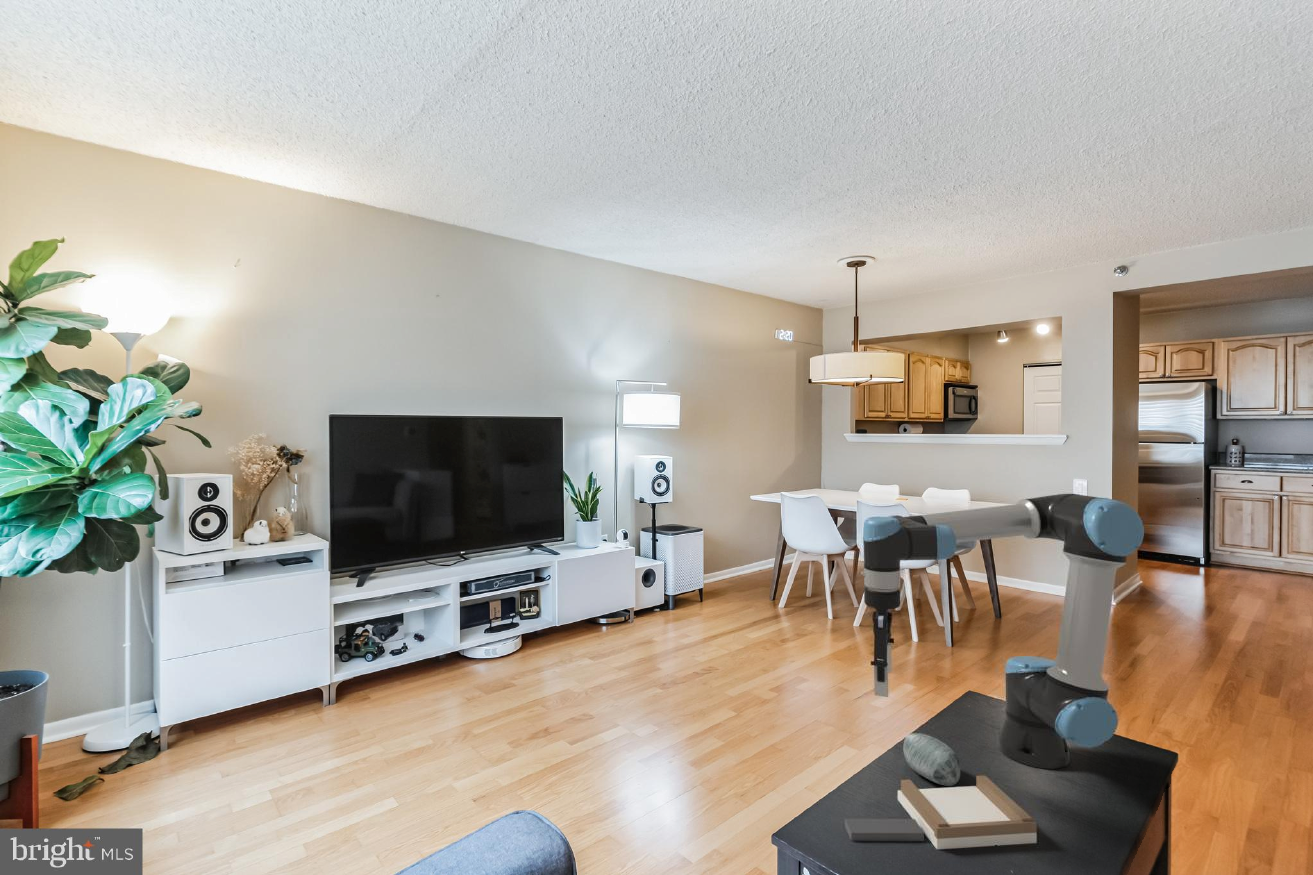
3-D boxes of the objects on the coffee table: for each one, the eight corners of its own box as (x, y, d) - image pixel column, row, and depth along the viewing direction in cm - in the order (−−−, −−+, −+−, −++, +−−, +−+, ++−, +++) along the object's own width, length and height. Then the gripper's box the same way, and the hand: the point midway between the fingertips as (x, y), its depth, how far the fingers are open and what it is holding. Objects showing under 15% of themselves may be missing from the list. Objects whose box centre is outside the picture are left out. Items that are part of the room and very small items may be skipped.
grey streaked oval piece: (977, 773, 139) (953, 733, 139) (948, 801, 136) (923, 759, 137) (938, 757, 152) (915, 721, 152) (910, 782, 149) (887, 744, 150)
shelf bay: (985, 794, 136) (986, 773, 136) (1036, 842, 120) (1036, 819, 120) (897, 799, 135) (897, 778, 135) (937, 849, 119) (937, 825, 119)
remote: (844, 828, 126) (844, 818, 126) (914, 828, 126) (914, 818, 126) (851, 842, 121) (851, 832, 121) (923, 843, 121) (923, 832, 121)
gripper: (868, 573, 151) (869, 661, 151) (858, 600, 128) (860, 703, 128) (902, 576, 148) (903, 665, 148) (898, 604, 125) (899, 709, 125)
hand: (883, 683), depth 138 cm, fingers open, 13 cm apart
